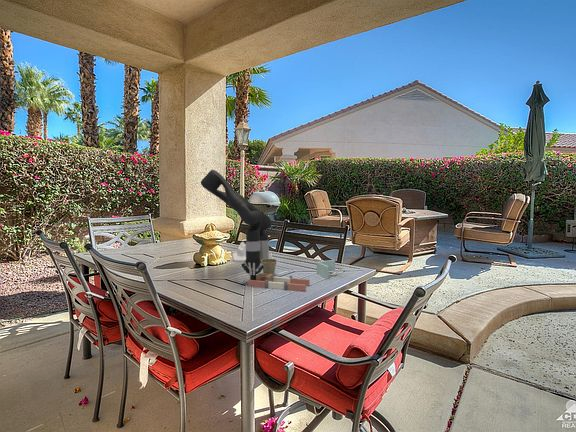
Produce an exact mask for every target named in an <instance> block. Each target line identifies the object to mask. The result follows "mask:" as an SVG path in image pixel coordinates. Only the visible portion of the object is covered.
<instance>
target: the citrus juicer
mask: <svg viewBox="0 0 576 432" xmlns="http://www.w3.org/2000/svg"><path fill="white" fill-rule="evenodd" d="M232 260H233V263H241V264H243V263H245V260H246V242H244V241H242V242H240V244H239V246H238V247H237V249H236V252H233V253H232Z"/></svg>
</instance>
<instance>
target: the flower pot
mask: <svg viewBox="0 0 576 432" xmlns="http://www.w3.org/2000/svg"><path fill="white" fill-rule="evenodd" d="M277 262H278V260H277V259H275V258H269V259H263V260H261V263H262V264H264V265H265V267H264V268H263V269H262V273H268V274H274V275H275V272H276V264H277Z"/></svg>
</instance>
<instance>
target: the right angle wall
mask: <svg viewBox="0 0 576 432" xmlns="http://www.w3.org/2000/svg"><path fill="white" fill-rule="evenodd" d="M316 274H317V275H319V276H320V277H322V278H324V279H326V280H329V277H330V278H335V277H336V276H337V272H336V259H332V260H331V259H330V260H321V261H316Z"/></svg>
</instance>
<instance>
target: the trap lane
mask: <svg viewBox="0 0 576 432" xmlns="http://www.w3.org/2000/svg"><path fill="white" fill-rule="evenodd" d="M257 275H258V274H256V276H257ZM247 283H248V285H247V286H248V287H252V286H253V287H254V288H264V289H276V290H284V291H294V292H295V291H296V292H306V291H307V286H308V287H310V286H311V285H310V279H309V278H308V279H306V278H293V275H289V277H283V276H275V273H274V274H273V282H269V281H268V280H265V281H258V280H250V279H248V280H247Z"/></svg>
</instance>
